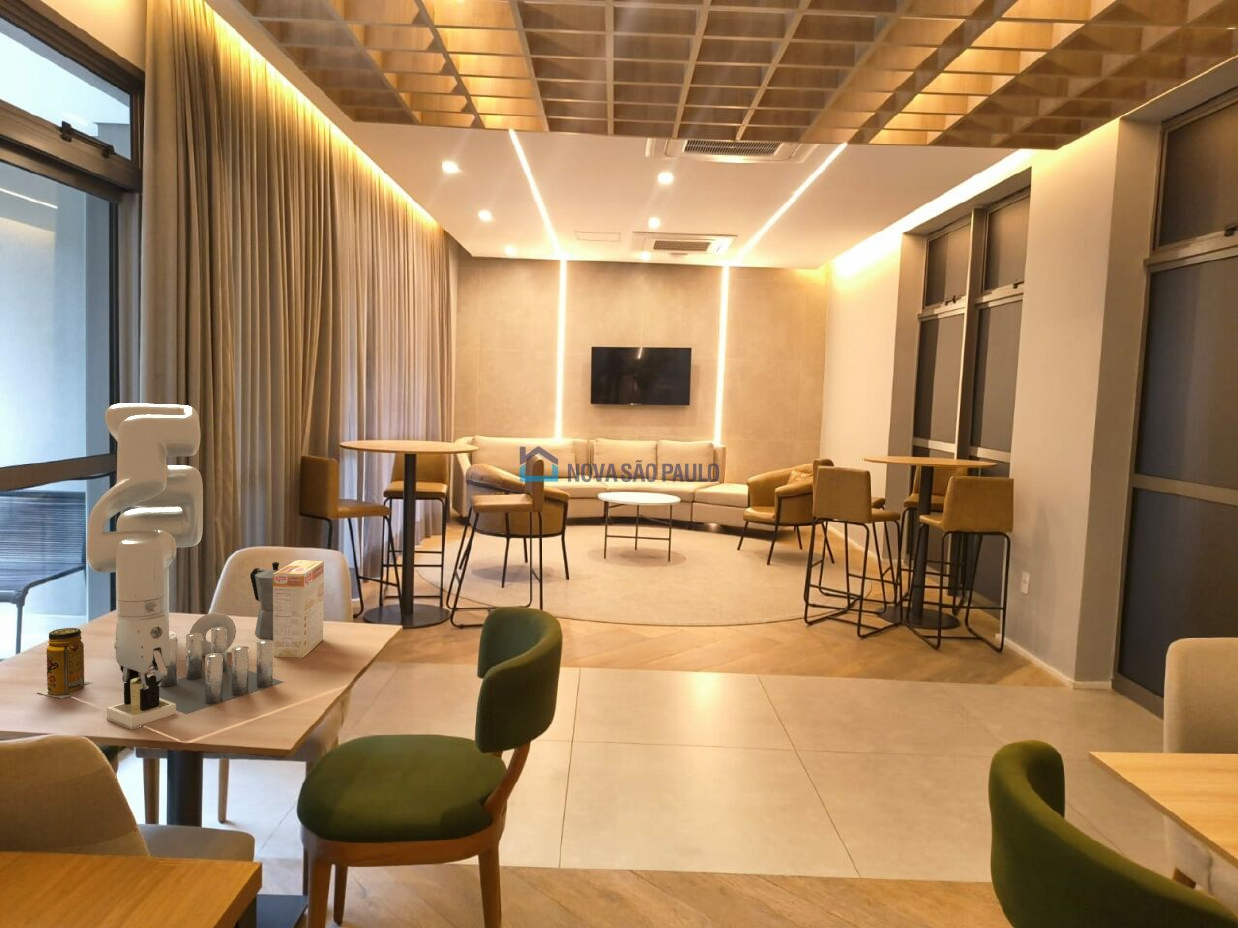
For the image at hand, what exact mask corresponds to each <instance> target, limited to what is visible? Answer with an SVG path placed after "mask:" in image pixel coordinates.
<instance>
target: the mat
mask: <svg viewBox="0 0 1238 928" xmlns="http://www.w3.org/2000/svg"><path fill="white" fill-rule="evenodd" d="M283 683H284V681H282V680H279V679H276V678H273V685H272V686H270V687H266V688H259V687H257V672H254V671H251V670H249V676H248V694H245V695H250V694H253V693H255V692H258V691H262V690H265V689H267V688H271V687H273V686H277V685H280V684H283ZM245 695H241V696H234V695H232V664H227V670H226V671H225V672H223V701H222V702H221V703H218V704H222V703H224V702H228V701H231V700H234V699H237V698H241V697H243V696H245ZM159 698H161V699H164V700H167V701H169V702H172V703H175V704H176V712H180V713H182V714H186V715H187V714H191V713H193V712H196V711H200V710H203V709H206V708H209V707H212V706H216V704H206V703H205V671H203V677H202V678H200V679H197V680H187V679H186V676H185V677H181V678H179V679H178V678H177V685H175V686H173V687H168V688H162V687H160V686H159ZM218 704H217V705H218Z"/></svg>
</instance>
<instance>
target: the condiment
mask: <svg viewBox="0 0 1238 928" xmlns="http://www.w3.org/2000/svg"><path fill="white" fill-rule="evenodd" d="M84 647H85V645H84V642H83V641H82V631H81V629H80V628H77V627H65V628H64V627H63V628H58V629H54V630H51V631H50V632H49V634H48V645H47V646H46V685H47V687H46V689H44V690H42V691H37V692H36V693H37V694H38V693H39V694H42V695H44V696H49V697H53V698H59V699H65V698H68V697H72V696H73V695H72V694H71V693H75V692H77V691H80V690H82V689H83V688H84V687H85V686H88V685H92V684H94V682H93V681H92V682H91V681H88V680H85V650H84V649H85V648H84ZM47 693H48V694H47Z"/></svg>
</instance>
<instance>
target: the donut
mask: <svg viewBox="0 0 1238 928" xmlns="http://www.w3.org/2000/svg"><path fill="white" fill-rule="evenodd" d="M216 627H226V628H227V651H228V650H229V648H231V646H233V643H234V642H235V640H236V635H237V628H236V627H237V626H236V624H235V622H234V620H233V619H232V618H231V617H230V616H229V615H227V614H225V613H222V612H209V613H208V614H204V615H202V616H201V617H199V618H198V619H197V620H196V621H195V622H194V624H193V625H192V626H191V628H190V630H189V634H190V633H202V647H203V657H205V656H206V655H208V654H211V641H209V640H207V633H208V632H209V630H210V631H211V629H212V628H216Z"/></svg>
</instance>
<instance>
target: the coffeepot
mask: <svg viewBox="0 0 1238 928" xmlns="http://www.w3.org/2000/svg"><path fill="white" fill-rule="evenodd" d="M271 565H272V566H271V567H272V569H268V570H267V569H265V568H259V567H255V568H253V570H252V571H251V572H250V575H249V577H250V581H251V586H252V590H253V594H254V598H255V600H256V601H258V602H260V608H259V609H258V615H257V619H256V620H257V621H256V626H255V631H254V635H255V636H256V637H257V638H258V637H259V639H262V638H263V639H262V640H273V573H275V572H277V571H279V570H280V569H281V568H279V566H280V562H277V561H274V562H272V563H271Z"/></svg>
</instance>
